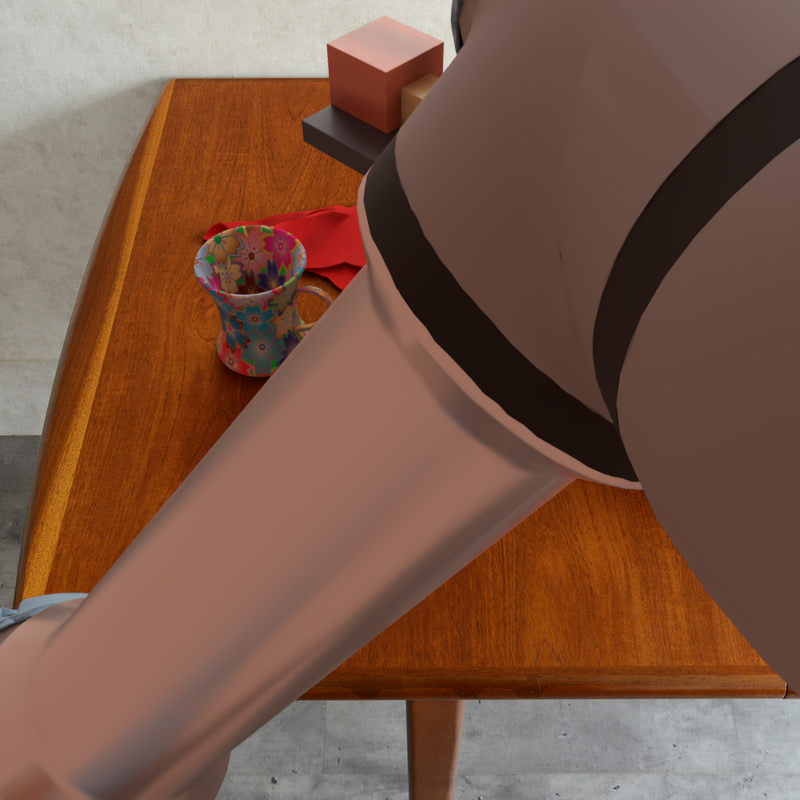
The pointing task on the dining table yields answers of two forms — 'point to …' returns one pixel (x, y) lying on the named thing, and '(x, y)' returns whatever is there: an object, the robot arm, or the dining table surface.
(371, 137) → the stand
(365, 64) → the mallet
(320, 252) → the cloth
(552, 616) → the dining table surface
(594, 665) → the dining table surface
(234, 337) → the mug
